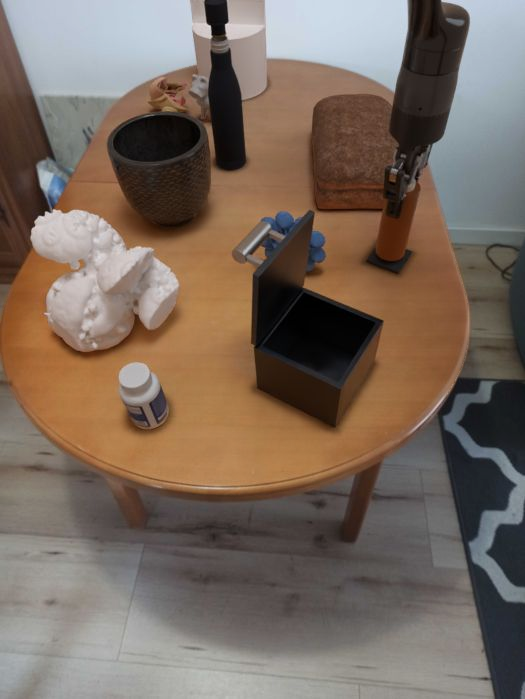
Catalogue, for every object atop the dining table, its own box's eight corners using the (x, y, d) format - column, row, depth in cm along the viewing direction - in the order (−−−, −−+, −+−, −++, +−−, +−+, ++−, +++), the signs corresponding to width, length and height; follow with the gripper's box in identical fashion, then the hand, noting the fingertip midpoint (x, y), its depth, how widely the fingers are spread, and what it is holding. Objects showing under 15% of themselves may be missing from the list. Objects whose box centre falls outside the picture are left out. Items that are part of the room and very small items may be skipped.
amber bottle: (409, 247, 88) (427, 176, 77) (397, 264, 85) (414, 194, 74) (382, 238, 90) (396, 167, 78) (370, 254, 87) (382, 184, 76)
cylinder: (208, 67, 136) (193, -64, 113) (272, 70, 133) (269, -63, 111) (192, 99, 125) (172, -38, 103) (261, 103, 123) (255, -37, 101)
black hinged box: (374, 363, 75) (384, 320, 67) (335, 428, 69) (341, 389, 61) (300, 330, 79) (301, 286, 72) (257, 388, 73) (253, 347, 65)
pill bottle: (162, 391, 73) (148, 351, 66) (174, 420, 70) (160, 382, 63) (126, 406, 72) (107, 366, 64) (137, 436, 69) (118, 398, 61)
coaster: (411, 253, 89) (412, 251, 89) (398, 274, 86) (398, 271, 86) (380, 242, 91) (380, 239, 91) (365, 262, 88) (366, 259, 88)
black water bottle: (246, 169, 106) (234, 6, 82) (215, 171, 106) (195, 8, 83) (246, 152, 110) (234, -8, 86) (216, 154, 110) (197, -6, 87)
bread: (313, 213, 97) (316, 159, 88) (310, 131, 114) (312, 79, 105) (403, 212, 96) (415, 158, 87) (386, 129, 114) (394, 77, 104)
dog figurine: (188, 125, 118) (180, 78, 110) (222, 102, 124) (217, 55, 116) (205, 132, 116) (199, 84, 108) (239, 107, 122) (235, 61, 114)
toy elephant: (191, 124, 119) (159, 104, 112) (165, 134, 126) (133, 116, 119) (197, 87, 120) (165, 65, 113) (170, 99, 127) (138, 79, 119)
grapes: (253, 284, 86) (249, 227, 76) (260, 257, 90) (257, 200, 80) (321, 290, 84) (326, 234, 75) (326, 263, 88) (330, 206, 79)
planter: (176, 255, 91) (158, 177, 78) (110, 221, 98) (84, 144, 85) (235, 206, 99) (228, 128, 86) (171, 177, 106) (155, 101, 93)
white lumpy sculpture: (-16, 308, 72) (51, 186, 72) (75, 332, 91) (129, 236, 90) (75, 373, 66) (149, 240, 65) (153, 385, 85) (211, 282, 84)
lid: (315, 211, 60) (273, 193, 62) (258, 276, 54) (214, 254, 56) (303, 285, 71) (268, 268, 73) (255, 346, 65) (218, 326, 67)
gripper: (430, 132, 62) (404, 240, 75) (469, 82, 69) (439, 189, 82) (373, 117, 64) (358, 224, 78) (416, 70, 71) (395, 176, 85)
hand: (400, 206), depth 80 cm, fingers closed on amber bottle, 5 cm apart
